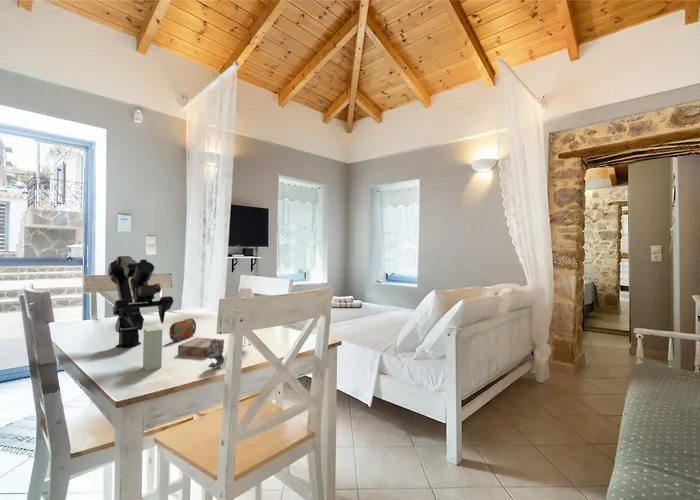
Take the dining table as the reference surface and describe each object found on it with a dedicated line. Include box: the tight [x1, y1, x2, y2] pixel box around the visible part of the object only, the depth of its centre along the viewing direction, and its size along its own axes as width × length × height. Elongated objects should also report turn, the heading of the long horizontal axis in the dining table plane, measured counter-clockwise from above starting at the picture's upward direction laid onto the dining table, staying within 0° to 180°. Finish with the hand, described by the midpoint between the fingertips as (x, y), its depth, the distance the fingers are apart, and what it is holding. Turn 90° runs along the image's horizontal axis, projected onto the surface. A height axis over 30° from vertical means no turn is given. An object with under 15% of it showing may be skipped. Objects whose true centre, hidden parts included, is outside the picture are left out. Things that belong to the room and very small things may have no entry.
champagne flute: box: [238, 287, 253, 344], centre depth 148 cm, size 7×7×24 cm
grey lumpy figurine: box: [207, 338, 225, 369], centre depth 118 cm, size 5×5×10 cm
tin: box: [168, 318, 197, 342], centre depth 154 cm, size 15×3×8 cm, turn 168°
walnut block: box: [177, 337, 225, 358], centre depth 136 cm, size 12×12×4 cm
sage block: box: [142, 326, 163, 372], centre depth 117 cm, size 4×4×13 cm
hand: (148, 324), depth 123 cm, fingers open, 9 cm apart
